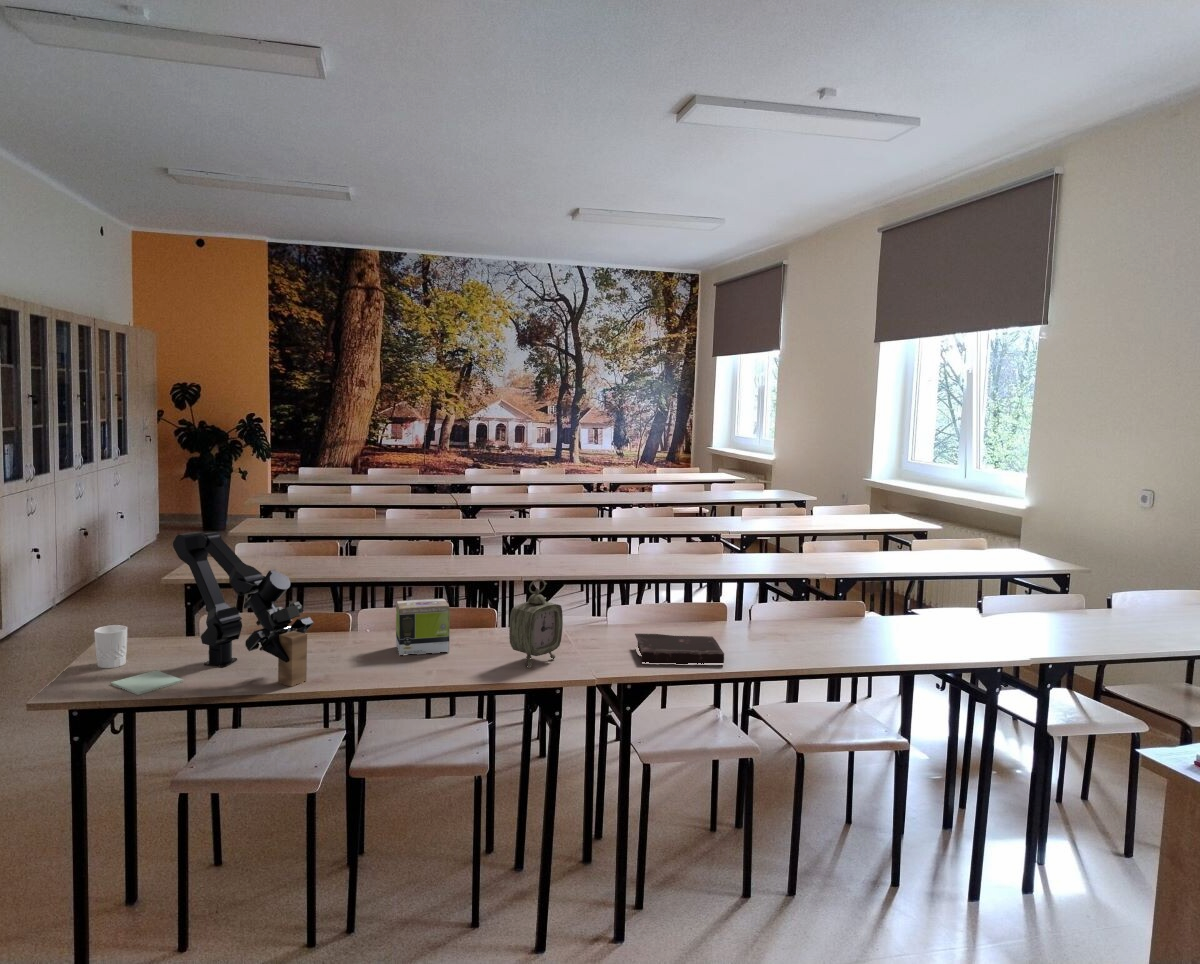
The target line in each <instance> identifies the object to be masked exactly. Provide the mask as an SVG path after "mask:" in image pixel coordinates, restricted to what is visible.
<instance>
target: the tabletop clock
mask: <svg viewBox="0 0 1200 964" xmlns="http://www.w3.org/2000/svg"><path fill="white" fill-rule="evenodd" d="M536 582H542V583H543V586H542V588H541V589H539V588H535V591H533V590H532V586H533V584H535V583H536ZM545 588H546V581H545V580H544V579H542V578H536V579H534V580H533V581H532V582H531V583H530V584H529V588H528V590H529V593H530V594H531V595H530V596H529V598H528V599H527V601H526V602H523V603H520V604H518V605H515V606H514V607H512V609H511V611H510V617H509V626H508V627H509V628H508V629H509V644H510V647H511V648H512V650H514V651H516V652H520V653H524V654H526V656H525V658H527V659H528V660H527V659H526V660H527V662H526V664H525V667H526V666H528V667H530V666H531V667H532V662H531V660H530V658H532V656H534V657H538V656H539V657H540V656H543V655H547V654H549V658H550V657H551V658H555V659H556V655H555V654H553V653H552V652H553V651H556V650H557V649H558V648H560V646H561V642H562V635H563V627H564V626H563V625H564V623H563V619H564V618H563V615H564V614H563V609H562V605H560V604H558V603H553V602H549V601H546V598H545V596H544V595H542V594H541V592H543V591H544V590H545ZM531 667H530V668H531Z"/></svg>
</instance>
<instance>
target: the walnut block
mask: <svg viewBox="0 0 1200 964" xmlns="http://www.w3.org/2000/svg"><path fill="white" fill-rule="evenodd" d="M279 641H280V644H281V645H282V647H283V649H284V651H285V652H286V654H287V656H288V658H289V662H288V663H286V662H284V661H282V660H281V659H279V658H277V659H278V660H277V661H278V663H277V665H278V666H277V667H278V668H277V669H278V670H277V684H279V685H284V686H287V687H291V686H293V687H295V686H297V685H296V684H298V685H300V684H299V683H301V684H303V683H302V682H304V681H306V682H307V676H308V674H307V669H308V667H307V666H308V664H307V663H308V661H307V660H308V659H307V658H308V633H306V632H305V633H301V632H296V631H291V632H288V633H284V634H280V635H279ZM304 683H305V682H304ZM294 685H295V686H294Z"/></svg>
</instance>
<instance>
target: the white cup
mask: <svg viewBox="0 0 1200 964" xmlns="http://www.w3.org/2000/svg"><path fill="white" fill-rule="evenodd" d="M93 632H94V647H95V655H96V656H95V657H96V664H97V667H98V668H100V669H101V668H102V669H114V668H120V667H122V666H124V665H126V663H127V652H128V651H127V647H128V626H126V625H122V624H121V625H119V624H112V625H111V624H110V625H105V626H100V627H97V628H96V629H94V631H93ZM119 666H120V667H119Z"/></svg>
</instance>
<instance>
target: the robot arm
mask: <svg viewBox="0 0 1200 964" xmlns="http://www.w3.org/2000/svg"><path fill="white" fill-rule="evenodd" d="M172 547H173V550H174V551H175V553H176V555H177V557H178V558H179V560H181V562H184V563H185V564H187V566H188V567H189V569H190V571H191V574H192V577H193V579H194V581H195V584H196V586H197V588H198V590H199V593H200V595H201V598H202V601H203V603H204V605H205V607H206V610H207V616H206V621H205V623H206V627H207V628H206V629H205V630H204V632H203V633H202V634H201V635H200V641H201V644H202V645H206V646H208V660H207V661H205V662H204V663H203V666H210V667H222V668H223V667H225V668H226V667H228V666H230V665H231V664H233V663H234V662H236V661H238V658H237V657H233V641H235V640H239V638H240V637H241V632H242V629H243V622H242V619H243V618H242V617H241V615H240V613H239V610H238V608H237V607H236V606H229V605H228V604H227V602H226V601H225V597H224V595H223V593H222V591H221V589H220V586H219V584H218V581H217V579H216V575H215V574H214V571H213V569H212V567H211V564H210V562H209V560H208V557H209V555H210V556H211V557H212V559H214V561H215V562H216V563H217V564H218V565H219V566H220V567H221V569H222V570H223V571H224V572H225V573H226V574H227V575H228V576H227V577H228V581H229V582H228V583H229V585H230V586H231V589H233V591H234V592H235V593H236V595H238V596H246V595H250V594H251V595H250V597H245V600H244V603H243V609H245V610H247V609H251V610H252V612H253V614H254V615H255V617H256V619H257V621H256V622H255V623H256V625H257V627H259V626H261V627H262V628H261V629H257V630H254V631H253V632H252V633H251V634H250V635H249V637H247V639H246V640H245V647H246V649H247V651H248V652H251V651H252V652H253V651H254V650H258V649H259V651H261V652H262V651H263V652H266V653H268V654H270V655H272V656H274V657H276V658H277V659H278V658H279V659H281V660H282V661H284V662H286V663H288V662H289V658H288V656H287V654H286V652H285V651H284V649H283V647H282V645H281V644H280V641H279V635H280V634H284V633H288V632H291V631H296V632H301V633H305V634H306V633H307V632H308V630H309V629H310V628H311V627H312V626H313V625H314V624H315V622H314V620H312V618H311V616H302V617H301V613H303V612H304V609H303V605H302V604H301V603H300V601H295V602H292V603H290V604H289V606H286V607H282V606H277V604H276V602H277V601H279V600H280V598H281V597H283V595H284V594H285V593H286V592H287V590H288V589H290V587H291V580H290V578H289V577H288V576H286V575H285V574H284V573H281V572H278V571H277V569H275V568H274V569H270V570H268V572H267V573H266V575H263V573H262V572H261V571H259V570H258V569H257V568H256V567H254V566H252V565H249V564H247V563H245V562H244V561H242V559H241V558H240V557H239V556H238V555H237V554H236V553H235V552H234V551H233V549H232V548H230V546H229V545H228V544H227V543H226V542H225V541H224V540H223V538H222V535H221V534H220V533H218V532H215V531H214V532H208V533H207V532H206V533H203V532H201V531H195V532H187V533H180V534H178V535H176V536H175V538H174V539H173V541H172ZM299 617H300V618H299ZM294 618H296V620H295V621H294V622H293V619H294ZM292 622H293V623H292ZM289 624H291V625H289ZM259 646H260V648H259Z"/></svg>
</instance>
